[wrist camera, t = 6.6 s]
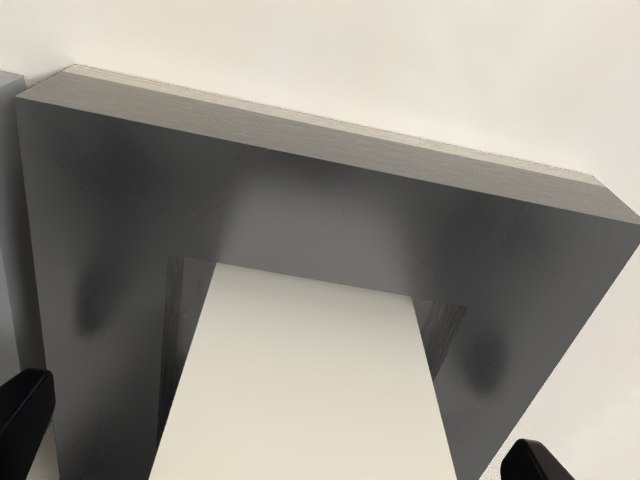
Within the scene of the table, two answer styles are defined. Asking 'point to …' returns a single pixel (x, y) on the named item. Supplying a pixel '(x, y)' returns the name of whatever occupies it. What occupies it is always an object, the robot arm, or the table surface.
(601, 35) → the table surface
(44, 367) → the tray
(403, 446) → the plug
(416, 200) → the board
